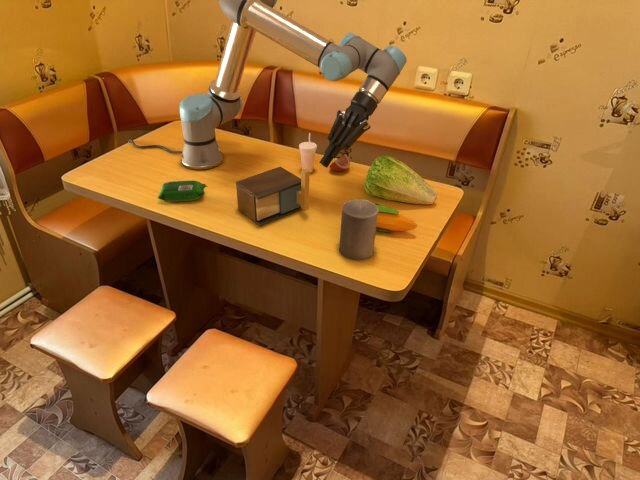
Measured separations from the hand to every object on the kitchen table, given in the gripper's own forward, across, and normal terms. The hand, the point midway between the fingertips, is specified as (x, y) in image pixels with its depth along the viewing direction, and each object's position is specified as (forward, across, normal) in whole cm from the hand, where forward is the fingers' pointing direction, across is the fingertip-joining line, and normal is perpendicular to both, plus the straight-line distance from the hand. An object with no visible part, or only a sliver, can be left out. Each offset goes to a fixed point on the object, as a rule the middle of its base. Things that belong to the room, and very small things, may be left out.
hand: (323, 165), depth 149 cm
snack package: (+33, +33, +12) cm, 48 cm away
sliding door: (+16, +2, -3) cm, 17 cm away
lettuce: (-6, -12, -27) cm, 30 cm away
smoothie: (+2, +23, -20) cm, 30 cm away
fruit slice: (-5, +16, -26) cm, 31 cm away
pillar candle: (+16, -24, -6) cm, 29 cm away
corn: (+6, -20, -15) cm, 26 cm away
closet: (+20, +9, -1) cm, 22 cm away
